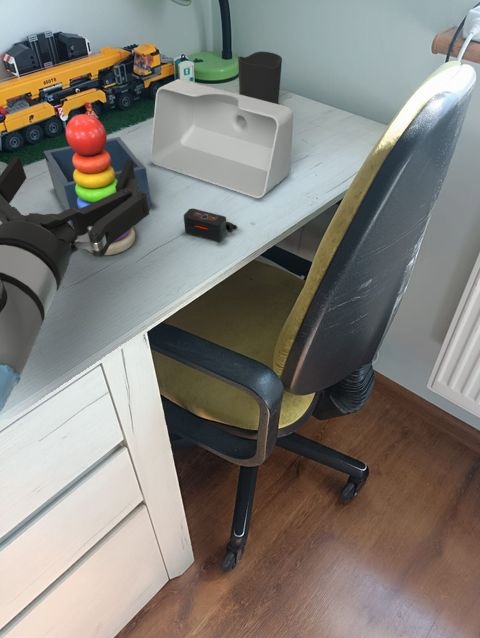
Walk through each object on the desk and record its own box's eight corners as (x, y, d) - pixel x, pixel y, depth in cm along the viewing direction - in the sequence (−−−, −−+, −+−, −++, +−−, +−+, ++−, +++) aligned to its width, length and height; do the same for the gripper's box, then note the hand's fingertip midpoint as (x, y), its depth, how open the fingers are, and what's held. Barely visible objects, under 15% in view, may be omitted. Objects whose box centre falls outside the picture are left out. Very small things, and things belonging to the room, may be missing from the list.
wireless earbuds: (225, 245, 79) (224, 227, 76) (183, 234, 80) (181, 216, 78) (237, 230, 82) (237, 212, 79) (197, 220, 83) (196, 202, 81)
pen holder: (280, 115, 114) (282, 65, 107) (238, 114, 114) (237, 64, 107) (278, 99, 121) (281, 51, 114) (238, 98, 120) (238, 50, 113)
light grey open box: (306, 164, 98) (312, 95, 89) (263, 200, 88) (265, 127, 79) (199, 133, 106) (195, 67, 98) (149, 162, 97) (140, 92, 88)
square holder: (54, 190, 89) (43, 151, 84) (126, 174, 93) (119, 136, 88) (74, 227, 81) (63, 185, 76) (151, 207, 86) (146, 167, 81)
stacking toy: (146, 244, 78) (126, 118, 65) (100, 264, 74) (68, 136, 61) (118, 222, 82) (93, 100, 69) (72, 241, 78) (37, 115, 65)
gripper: (-97, 302, 51) (-16, 194, 66) (154, 308, 51) (179, 199, 66) (-137, 237, 46) (-39, 136, 60) (144, 244, 46) (174, 142, 61)
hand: (75, 169), depth 63 cm, fingers open, 13 cm apart
